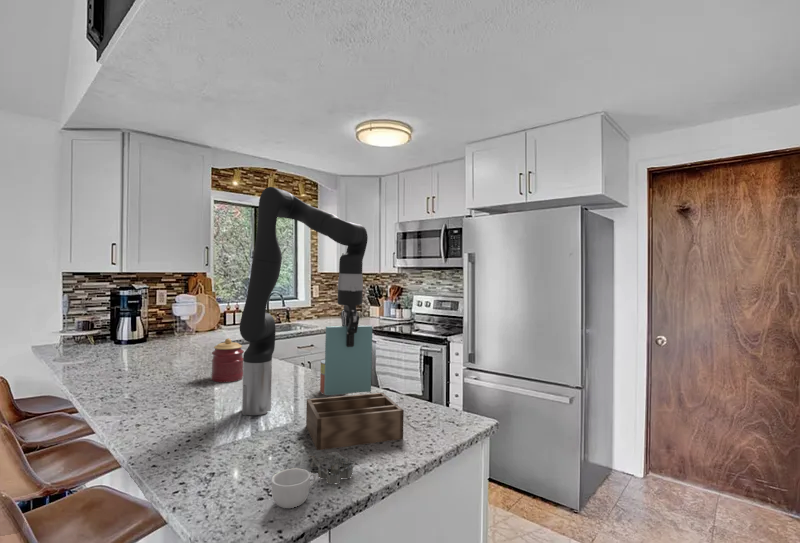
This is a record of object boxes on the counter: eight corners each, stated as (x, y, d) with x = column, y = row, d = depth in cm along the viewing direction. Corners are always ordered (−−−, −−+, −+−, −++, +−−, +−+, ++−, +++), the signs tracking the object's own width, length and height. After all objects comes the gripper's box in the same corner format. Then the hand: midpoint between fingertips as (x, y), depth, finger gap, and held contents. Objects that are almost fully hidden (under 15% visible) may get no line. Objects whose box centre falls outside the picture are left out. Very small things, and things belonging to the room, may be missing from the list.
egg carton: (306, 471, 103) (306, 454, 103) (332, 462, 108) (333, 446, 108) (329, 488, 95) (330, 469, 95) (357, 478, 100) (357, 460, 100)
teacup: (283, 518, 83) (284, 490, 82) (263, 502, 88) (264, 476, 88) (325, 499, 90) (326, 473, 90) (305, 485, 95) (305, 461, 95)
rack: (316, 455, 110) (317, 419, 110) (306, 431, 127) (306, 399, 127) (402, 444, 119) (403, 410, 119) (382, 422, 136) (382, 392, 136)
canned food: (329, 397, 162) (330, 365, 162) (314, 390, 170) (315, 360, 170) (354, 392, 169) (354, 361, 169) (338, 385, 178) (339, 357, 178)
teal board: (325, 395, 126) (327, 327, 126) (324, 393, 128) (325, 326, 128) (370, 391, 131) (372, 326, 131) (369, 389, 133) (370, 325, 133)
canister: (249, 378, 187) (250, 338, 187) (223, 384, 176) (224, 342, 176) (231, 374, 194) (231, 335, 194) (204, 379, 183) (205, 338, 183)
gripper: (333, 287, 134) (331, 342, 134) (343, 289, 121) (342, 350, 121) (356, 287, 137) (355, 341, 137) (368, 290, 124) (367, 349, 124)
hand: (349, 345), depth 129 cm, fingers closed on teal board, 2 cm apart
